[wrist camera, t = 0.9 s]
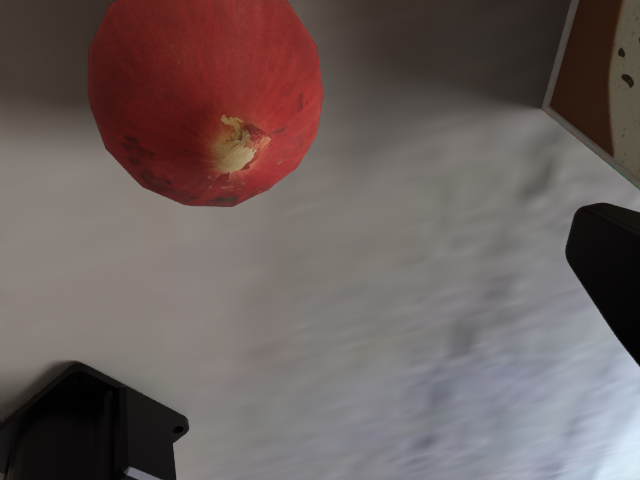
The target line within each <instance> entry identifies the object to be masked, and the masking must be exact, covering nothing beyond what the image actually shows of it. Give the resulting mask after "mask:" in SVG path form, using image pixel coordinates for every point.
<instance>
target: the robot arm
mask: <svg viewBox="0 0 640 480" xmlns="http://www.w3.org/2000/svg"><path fill="white" fill-rule="evenodd" d="M565 254H566V259H567V261H568V263H569V265H570V267H571V268H572V270H573V271H574V273H575V274H576V276H577V278H578V279H579V281H580V282H581V284H582V285H583V287H584V288H585V290H586V291H587V293H588V294H589V296H590V298H591V299H592V301H593V302H594V304H595V305H596V307H597V308H598V310H599V311H600V313H601V315H602V316H603V318H604V319H605V321H606V322H607V324H608V325H609V327H610V328H611V330H612V331H613V333H614V334H615V336H616V337H617V338H618V340H619V341H620V342H621V344H622V345H623V346H624V348H625V349H626V350H627V351H628V353H629V354H630V355H631V356H632V358H633V359H634V360H635V361H636V363H637V364H638V365H639V366H640V212H637V211H633V210H630V209H626V208H622V207H619V206H615V205H612V204H608V203H596V204H591V205H587V206H583V207H581V208H579V209H578V210H577V211H576V213H575V214H574V217H573V221H572V225H571V229H570V233H569V236H568V240H567V244H566V249H565ZM76 376H83V377H76ZM188 430H189V423H188V419H187V418H186V417H185V416H183V415H181V414H179V413H177V412H176V411H174V410H172V409H170V408H168V407H166V406H164V405H162V404H160V403H159V402H157V401H155V400H153V399H151V398H149V397H147V396H145V395H143V394H141V393H139V392H138V391H136V390H134V389H132V388H130V387H128V386H126V385H124V384H122V383H120V382H118V381H116V380H114V379H112V378H110V377H109V376H107V375H105V374H103V373H101V372H99V371H97V370H95V369H93V368H91V367H89V366H87V365H84V364H76V365H73V366H71V367H69V368H68V369H67V370H66V371H64V372H63V373H62V374H61V375H60V376H58V377H57V378H56V379H55V380H53V381H52V382H51V383H50V384H49V385H47V386H46V387H45V388H44V389H43V390H41V391H40V392H39V393H38V394H37V395H35V396H34V397H33V398H32V399H31V400H29V401H28V402H27V403H26V404H25V405H23V406H22V407H21V408H20V409H19V410H17V411H16V412H15V413H14V414H13V415H11V416H10V417H9V418H8V419H7V420H5V421H4V422H3V423H2V424H1V425H0V473H3V474H4V478H3V480H176V471H175V461H174V451H173V443H174V442H176V441H177V440H178V439H179V438H181V437H182V436H183V435H185V434H186V433H187V432H188Z"/></svg>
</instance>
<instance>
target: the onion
mask: <svg viewBox="0 0 640 480" xmlns="http://www.w3.org/2000/svg"><path fill="white" fill-rule="evenodd" d="M88 98H89V102H90V106H91V110H92V112H93V115H94V118H95V121H96V123H97V126H98V129H99V132H100V134H101V137H102V140H103V143H104V145H105V148H106V149H107V151H108V152H109V153H110V154H111V155H112V156H113V157H114V158H115V159H116V160H117V161H118V162H119V163H120V164H121V165H122V166H123V168H124V169H125V170H126V171H127V172H128V173H129V174H130V175H131V176H132V177H133V178H134V179H135V180H136V181H137V182H138V183H139V184H140V185H141V186H142V187H144V188H146V189H148V190H151V191H153V192H155V193H158V194H160V195H162V196H165V197H167V198H169V199H172V200H174V201H176V202H179V203H181V204H183V205H189V206H218V207H233V206H235V205H237V204H239V203H241V202H243V201H245V200H247V199H249V198H251V197H253V196H255V195H258V194H260V193H262V192H265V191H267V190H269V189H270V188H271V187H272V186H273V185H274V184H276V183H277V182H278V181H280V180H281V179H282V178H284V177H285V176H286V175H288V174H289V173H290V172H292V171H293V170H294V169H296V168H297V167H298V165H299V164H300V162H301V160H302V159H303V157H304V155H305V154H306V152H307V150H308V149H309V147H310V145H311V144H312V142H313V140H314V139H315V136H316V134H317V130H318V124H319V118H320V112H321V106H322V100H323V87H322V80H321V72H320V65H319V57H318V49H317V46H316V44H315V43H314V41H313V39H312V38H311V36H310V35H309V33H308V32H307V30H306V28H305V27H304V25H303V24H302V22H301V21H300V19H299V18H298V16H297V14H296V13H295V11H294V10H293V8H292V7H291V5H290V4H289V2H288V0H116V1H115V2H113V3H112V4H110V5H109V7H108V9H107V11H106V13H105V15H104V18H103V20H102V22H101V24H100V26H99V28H98V31H97V33H96V35H95V37H94V39H93V41H92V44H91V46H90V48H89V50H88Z"/></svg>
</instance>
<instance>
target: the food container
mask: <svg viewBox="0 0 640 480" xmlns="http://www.w3.org/2000/svg"><path fill="white" fill-rule="evenodd" d="M542 110H543V111H544V112H545V113H547V114H548V115H549V116H550V117H552V118H553V119H554V120H555V121H556V122H558V123H559V124H560V125H561V126H562V127H564V128H565V129H566V130H567V131H569V132H570V133H571V134H572V135H573V136H575V137H576V138H577V139H578V140H580V141H581V142H582V143H583V144H584V145H586V146H587V147H588V148H589V149H590V150H592V151H593V152H594V153H595V154H597V155H598V156H599V157H600V158H601V159H603V160H604V161H605V162H606V163H608V164H609V165H610V166H611V167H612V168H614V169H615V170H616V171H617V172H618V173H620V174H621V175H622V176H623V177H625V178H626V179H627V180H628V181H629V182H631V183H632V184H633V185H634V186H636V187H637V188H638V189H639V190H640V0H571V4H570V7H569V11H568V15H567V18H566V22H565V25H564V29H563V33H562V36H561V40H560V44H559V47H558V51H557V55H556V58H555V62H554V65H553V69H552V73H551V76H550V80H549V84H548V87H547V91H546V94H545V98H544V102H543V105H542Z"/></svg>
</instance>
